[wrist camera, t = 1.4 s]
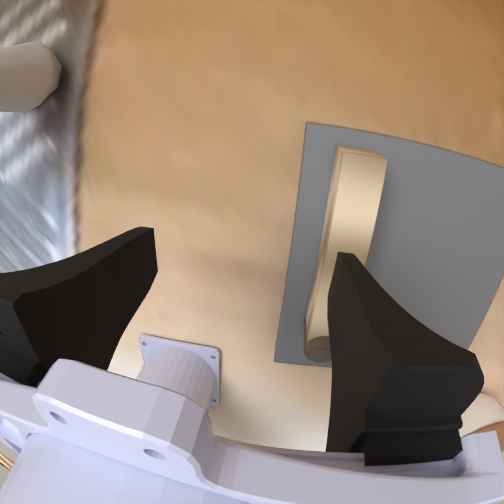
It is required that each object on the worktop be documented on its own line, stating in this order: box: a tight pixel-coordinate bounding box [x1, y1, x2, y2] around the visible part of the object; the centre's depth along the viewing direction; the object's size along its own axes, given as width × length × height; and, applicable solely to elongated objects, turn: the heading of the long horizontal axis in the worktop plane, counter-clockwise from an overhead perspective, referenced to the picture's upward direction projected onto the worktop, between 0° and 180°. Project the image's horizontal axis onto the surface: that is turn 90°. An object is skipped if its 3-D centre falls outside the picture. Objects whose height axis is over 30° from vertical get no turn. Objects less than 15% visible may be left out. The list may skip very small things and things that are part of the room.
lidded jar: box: [459, 393, 504, 452], centre depth 26 cm, size 11×11×9 cm
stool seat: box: [274, 121, 504, 367], centre depth 21 cm, size 19×18×5 cm
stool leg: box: [304, 144, 388, 363], centre depth 20 cm, size 14×3×3 cm, turn 176°
